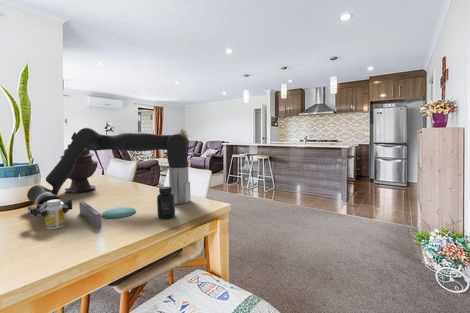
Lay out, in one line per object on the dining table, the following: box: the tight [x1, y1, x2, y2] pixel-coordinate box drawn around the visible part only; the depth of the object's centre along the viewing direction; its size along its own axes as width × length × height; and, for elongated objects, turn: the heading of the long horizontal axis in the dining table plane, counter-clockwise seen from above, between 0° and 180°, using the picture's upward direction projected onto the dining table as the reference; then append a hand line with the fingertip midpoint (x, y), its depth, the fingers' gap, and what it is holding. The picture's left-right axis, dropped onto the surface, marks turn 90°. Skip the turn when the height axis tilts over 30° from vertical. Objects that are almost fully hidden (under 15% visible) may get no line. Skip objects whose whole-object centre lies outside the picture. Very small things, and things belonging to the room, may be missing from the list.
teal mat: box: [100, 206, 137, 220], centre depth 105 cm, size 13×13×1 cm
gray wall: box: [78, 200, 102, 229], centre depth 97 cm, size 24×2×5 cm, turn 44°
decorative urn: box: [59, 131, 99, 194], centre depth 146 cm, size 20×20×35 cm
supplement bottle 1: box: [44, 199, 65, 230], centre depth 89 cm, size 5×5×10 cm
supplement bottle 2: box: [156, 186, 176, 220], centre depth 100 cm, size 7×7×12 cm
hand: (55, 212), depth 87 cm, fingers closed on supplement bottle 1, 5 cm apart
